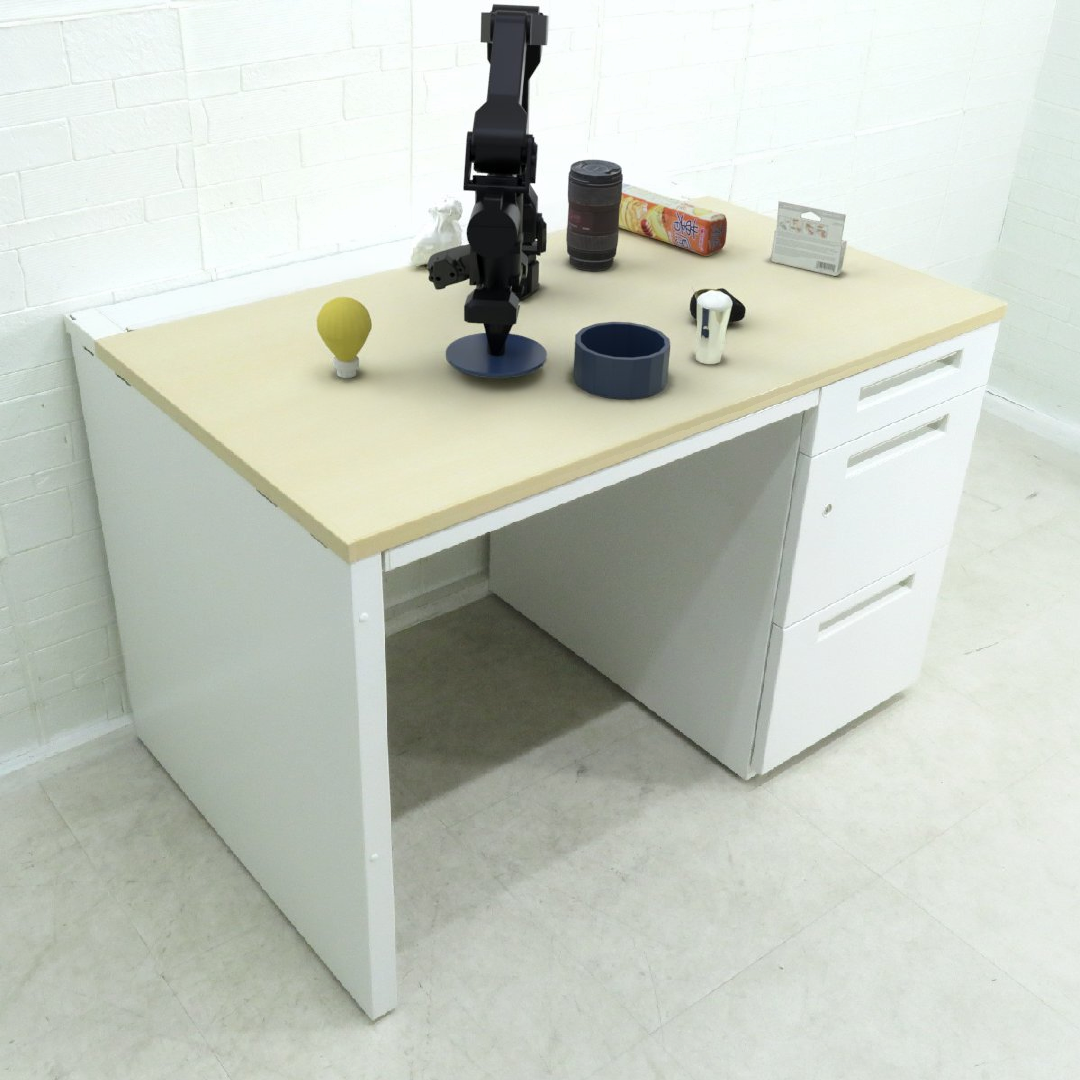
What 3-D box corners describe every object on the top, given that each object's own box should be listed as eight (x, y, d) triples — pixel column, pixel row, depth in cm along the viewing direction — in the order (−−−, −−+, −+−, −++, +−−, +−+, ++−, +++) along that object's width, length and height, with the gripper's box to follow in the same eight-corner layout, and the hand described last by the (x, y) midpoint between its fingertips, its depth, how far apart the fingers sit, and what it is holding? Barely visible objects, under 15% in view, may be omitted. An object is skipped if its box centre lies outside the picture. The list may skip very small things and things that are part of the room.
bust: (420, 287, 194) (460, 237, 187) (385, 250, 194) (424, 199, 187) (459, 263, 203) (499, 215, 196) (425, 228, 203) (464, 178, 196)
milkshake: (682, 352, 172) (689, 280, 166) (721, 352, 172) (730, 280, 167) (687, 366, 168) (695, 293, 162) (728, 366, 168) (737, 293, 163)
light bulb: (350, 390, 158) (346, 313, 153) (308, 376, 161) (303, 300, 156) (384, 371, 163) (381, 296, 158) (342, 358, 166) (339, 284, 161)
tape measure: (745, 327, 180) (749, 302, 178) (700, 332, 178) (703, 306, 176) (724, 309, 185) (727, 284, 183) (680, 313, 183) (683, 288, 181)
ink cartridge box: (775, 257, 204) (784, 196, 199) (842, 273, 199) (852, 210, 194) (769, 262, 202) (777, 200, 197) (836, 277, 198) (846, 215, 192)
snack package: (728, 250, 206) (733, 208, 203) (703, 260, 202) (708, 217, 199) (625, 218, 218) (628, 178, 215) (600, 226, 214) (602, 186, 210)
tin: (558, 387, 161) (560, 347, 158) (594, 353, 170) (596, 315, 168) (647, 406, 157) (651, 366, 154) (678, 370, 167) (682, 332, 164)
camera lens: (556, 267, 197) (560, 169, 189) (575, 251, 203) (580, 156, 196) (606, 276, 195) (612, 177, 187) (624, 260, 201) (631, 163, 193)
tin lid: (427, 369, 161) (427, 327, 158) (473, 333, 171) (473, 293, 168) (520, 390, 157) (522, 347, 154) (562, 352, 167) (564, 311, 164)
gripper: (442, 202, 163) (442, 317, 172) (420, 252, 147) (422, 377, 156) (529, 206, 163) (526, 322, 171) (517, 257, 147) (514, 382, 155)
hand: (496, 349), depth 163 cm, fingers closed on tin lid, 2 cm apart
